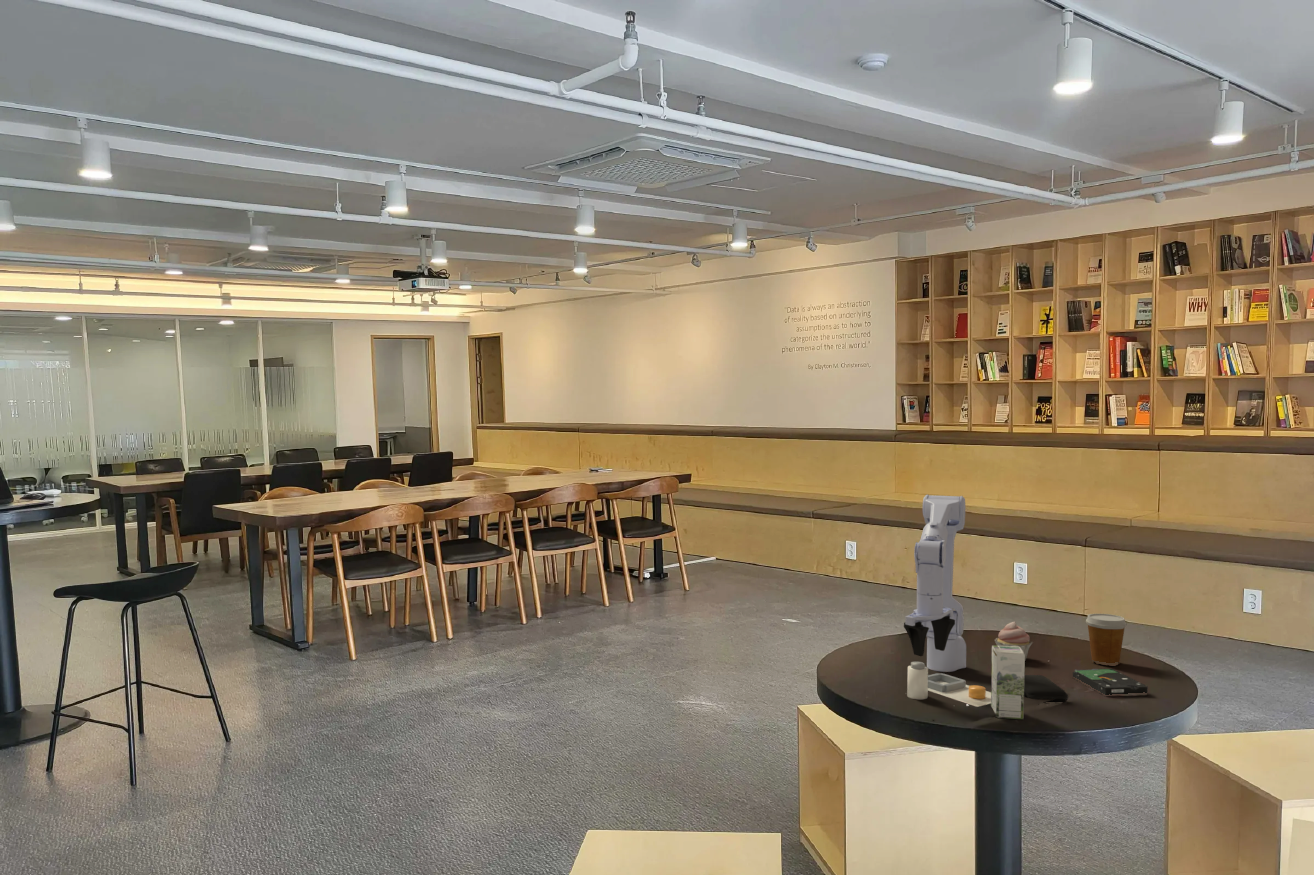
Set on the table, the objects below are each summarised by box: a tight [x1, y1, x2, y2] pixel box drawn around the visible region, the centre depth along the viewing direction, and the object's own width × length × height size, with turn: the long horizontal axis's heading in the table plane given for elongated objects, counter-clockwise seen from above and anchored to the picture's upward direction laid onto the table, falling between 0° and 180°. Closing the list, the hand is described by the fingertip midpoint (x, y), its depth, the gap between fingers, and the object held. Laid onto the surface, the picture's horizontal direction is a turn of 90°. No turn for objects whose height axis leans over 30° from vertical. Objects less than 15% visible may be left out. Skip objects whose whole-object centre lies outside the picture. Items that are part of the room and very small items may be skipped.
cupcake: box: [994, 621, 1034, 661], centre depth 242 cm, size 9×9×10 cm
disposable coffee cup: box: [1085, 613, 1127, 663], centre depth 238 cm, size 10×10×12 cm
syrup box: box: [990, 644, 1026, 720], centre depth 197 cm, size 6×6×14 cm
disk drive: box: [1072, 668, 1149, 695], centre depth 218 cm, size 10×3×15 cm
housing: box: [928, 672, 991, 708], centre depth 211 cm, size 11×20×2 cm, turn 32°
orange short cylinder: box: [969, 684, 987, 699], centre depth 207 cm, size 4×4×2 cm
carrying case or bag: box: [1024, 674, 1069, 704], centre depth 213 cm, size 11×3×15 cm
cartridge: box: [906, 661, 929, 700], centre depth 207 cm, size 4×4×8 cm
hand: (929, 652), depth 209 cm, fingers open, 7 cm apart
